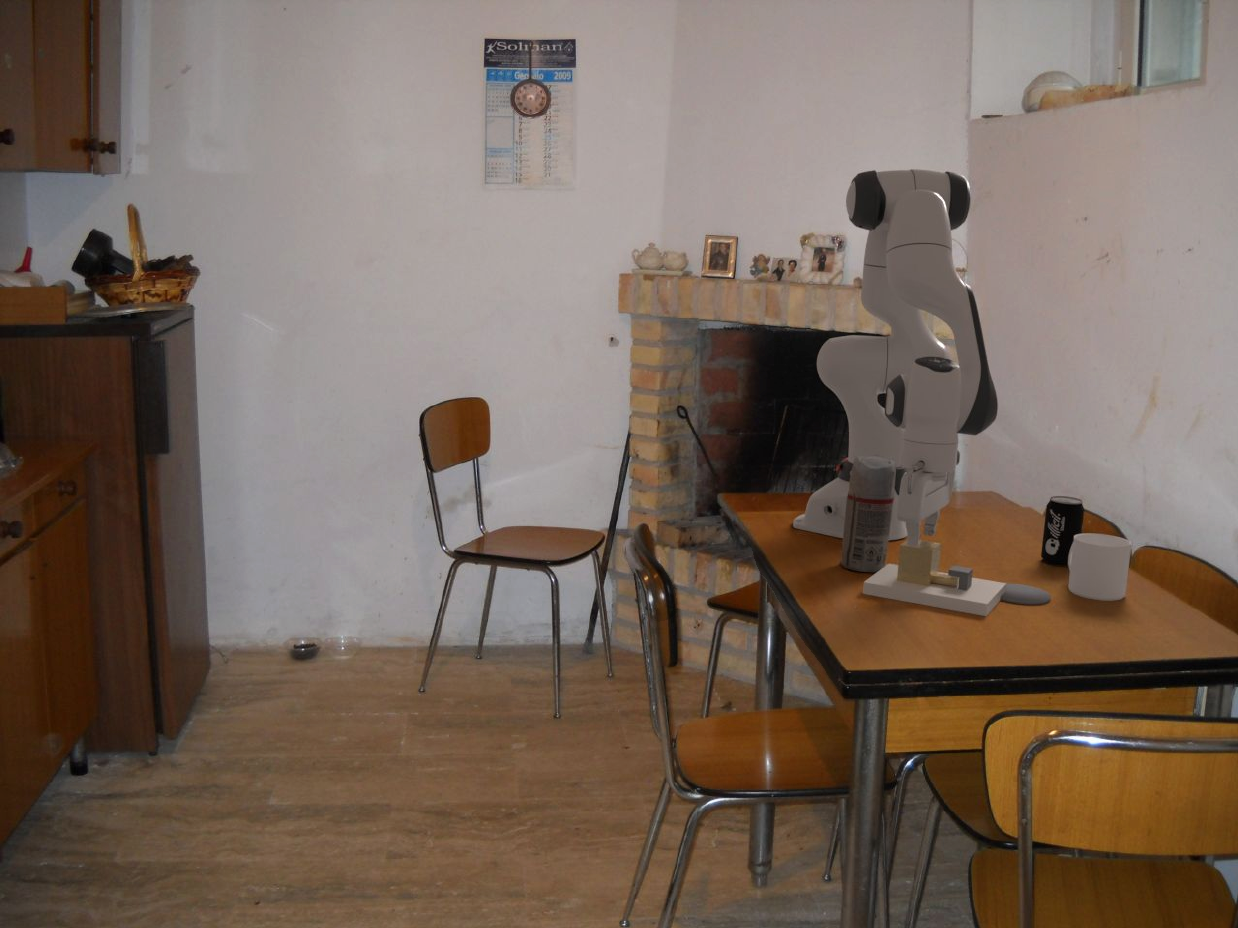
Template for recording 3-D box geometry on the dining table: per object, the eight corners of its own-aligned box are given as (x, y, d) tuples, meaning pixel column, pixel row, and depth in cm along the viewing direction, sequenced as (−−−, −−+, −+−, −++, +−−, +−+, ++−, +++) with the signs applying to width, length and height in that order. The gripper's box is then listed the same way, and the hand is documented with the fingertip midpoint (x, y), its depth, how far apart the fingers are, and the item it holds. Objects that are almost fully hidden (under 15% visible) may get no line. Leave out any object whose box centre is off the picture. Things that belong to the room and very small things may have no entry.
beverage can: (1080, 568, 219) (1088, 504, 217) (1043, 565, 220) (1050, 501, 218) (1074, 559, 225) (1082, 496, 223) (1038, 556, 227) (1045, 494, 224)
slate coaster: (981, 597, 199) (981, 593, 198) (994, 583, 207) (995, 579, 207) (1044, 608, 194) (1044, 604, 194) (1055, 593, 202) (1055, 590, 202)
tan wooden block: (896, 580, 199) (900, 544, 198) (906, 573, 204) (909, 538, 203) (953, 590, 195) (956, 554, 194) (961, 582, 200) (964, 547, 198)
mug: (1135, 601, 200) (1142, 547, 198) (1084, 601, 199) (1090, 546, 197) (1099, 580, 212) (1105, 529, 210) (1050, 580, 211) (1056, 528, 209)
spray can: (890, 564, 217) (899, 455, 213) (885, 576, 209) (894, 463, 205) (843, 558, 219) (851, 451, 215) (836, 570, 212) (844, 458, 208)
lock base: (862, 593, 198) (866, 552, 197) (887, 574, 210) (891, 535, 209) (986, 616, 189) (990, 573, 187) (1005, 594, 201) (1009, 554, 199)
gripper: (930, 468, 186) (923, 555, 188) (962, 452, 203) (955, 532, 206) (890, 463, 189) (884, 549, 191) (925, 448, 206) (919, 526, 209)
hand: (921, 540), depth 199 cm, fingers open, 8 cm apart
